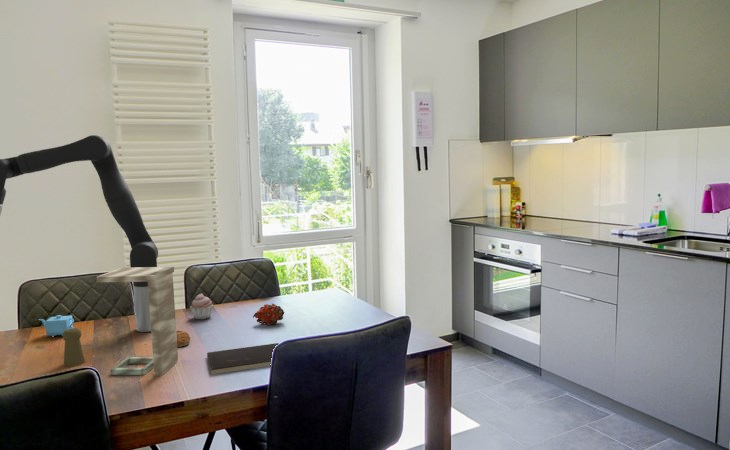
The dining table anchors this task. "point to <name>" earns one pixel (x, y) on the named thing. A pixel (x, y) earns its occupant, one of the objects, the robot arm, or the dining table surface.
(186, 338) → the pastry
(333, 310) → the dining table surface
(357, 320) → the dining table surface
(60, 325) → the teapot
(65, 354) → the olive brown pepper mill
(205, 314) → the cupcake
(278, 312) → the dragon fruit
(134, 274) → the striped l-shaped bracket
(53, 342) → the dining table surface
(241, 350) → the hardcover book
